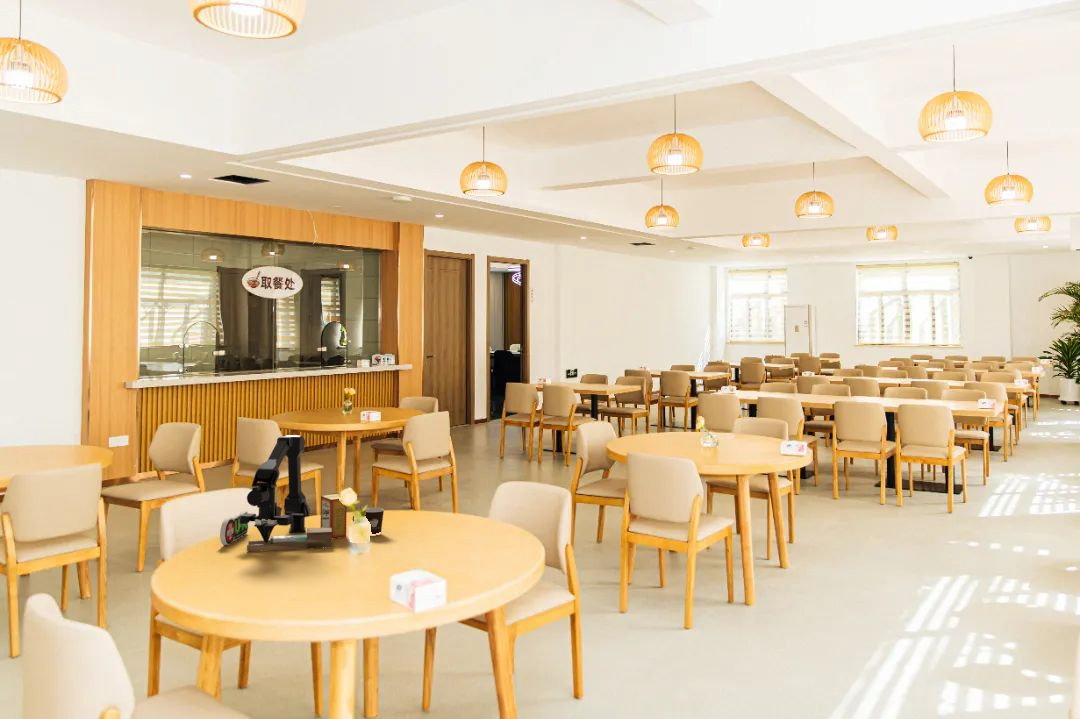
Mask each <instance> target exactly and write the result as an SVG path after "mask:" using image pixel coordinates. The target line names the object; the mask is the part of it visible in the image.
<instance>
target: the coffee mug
mask: <svg viewBox="0 0 1080 719" xmlns="http://www.w3.org/2000/svg"><path fill="white" fill-rule="evenodd" d="M365 509H366V515H365V516H366V518H367V519H368V521H369V522H370V524H371V532H372V534H376V533H379V532H381V533H382V528H383V527H382V526H383V520H384V512H385V509H384V508H382V507H367V508H365ZM352 521H353V522H354V521H355V517H354V515H353V516H352Z"/></svg>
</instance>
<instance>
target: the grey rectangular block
mask: <svg viewBox="0 0 1080 719" xmlns="http://www.w3.org/2000/svg"><path fill="white" fill-rule="evenodd" d="M296 535H297V534H293V535H276V536H274V535H270V538H269V540H270V544H273V543H292V542H295V537H296Z"/></svg>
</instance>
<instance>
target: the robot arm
mask: <svg viewBox="0 0 1080 719" xmlns="http://www.w3.org/2000/svg"><path fill="white" fill-rule="evenodd" d="M305 445H306V439H305V438H304V437H303V436H302V435H290V434H289V435H288V434H287V435H283V436H281V435H280V436H278V437H277V438H276V444H275V445H274V447H273V449H272V451H271V453H270V455H269V456H268V459H267V460H266V461H265V462H263V463H261V464H260V466H258V468H257V470H256V471H255V475H254V476H253V477H254V478H253V480H252V483H251V487H252V488H251V489H252V490H250V491H249V492H248V493H247V496H246V501H247V503H248V504H249V505H250V506H252V507H257V508H258V515H257V514H256V513H248V512H247V514H245V515H242V516H241V517H240V519H239V523H240V524H248V525H249V523H250V522H255V523H254V525H253V527H256V528H257V530H258V532H259V534H260V535H261V538H262V540H264V542H265V543H267V542H268V540H270V537H271V536H272V535H271V534H272V532H273V530H274V528H275V526H283V527H286V526H289V528H288V533H289V534H291V533H292V534H293V533H305V532H306V533H307V527H305V526H306V520H305V518H307V517H310V514H311V508H310V506H309V505H308V503H307V498H306V495H305V494H304V493H303V491H302V473H301V472H302V470H301V467H302V466H301V465H302V464H301V456H302V454H303V452H304V451H305ZM285 456H286V457H287V468H288V469H287V470H288V471H287V472H288V473H287V474H288V494H287V496H286V497H285V498H284V500H283V502H284V503H283V504H284V505H283V507H281V506H278V505H277V502H276V487H277V486H278V485H277V482H278V481H279V477H280V473H281V472H280V469H279V468H280V466H281V464H282V462H283V460H284V458H285ZM282 508H283V510H284V514H283V515H282V511H283V510H282Z"/></svg>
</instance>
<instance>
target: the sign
mask: <svg viewBox="0 0 1080 719" xmlns="http://www.w3.org/2000/svg"><path fill="white" fill-rule="evenodd" d="M247 513H248V511H241V512H239V514H235V515H233V516H231V517H230V518H229V517H226V518H224V520H223V522H222V523H221V526H220V534H219V540H220V543H221V544H222V545H223V546H230V545H232V544H233V542H236V541H237V539H238V540H239V539H241V538H242V537H244V536H246V535H247V534H248V531H249V523H248V524H240V523H239V519H240V517H241V516H242V515H245V514H247ZM245 534H246V535H245ZM243 535H244V536H243ZM240 537H241V538H240ZM231 543H232V544H231ZM229 544H230V545H229Z"/></svg>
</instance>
